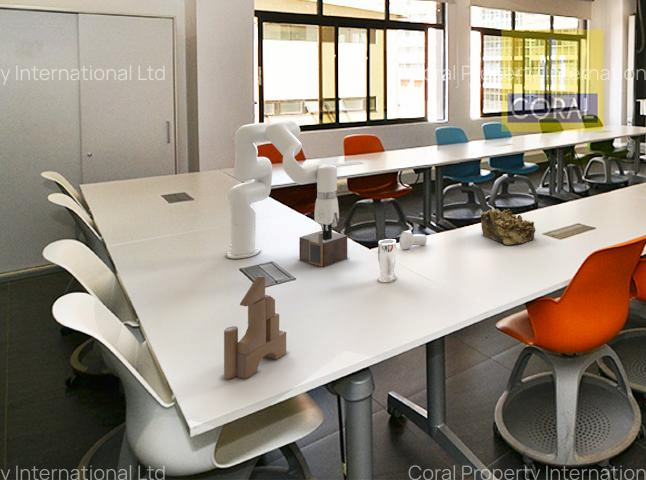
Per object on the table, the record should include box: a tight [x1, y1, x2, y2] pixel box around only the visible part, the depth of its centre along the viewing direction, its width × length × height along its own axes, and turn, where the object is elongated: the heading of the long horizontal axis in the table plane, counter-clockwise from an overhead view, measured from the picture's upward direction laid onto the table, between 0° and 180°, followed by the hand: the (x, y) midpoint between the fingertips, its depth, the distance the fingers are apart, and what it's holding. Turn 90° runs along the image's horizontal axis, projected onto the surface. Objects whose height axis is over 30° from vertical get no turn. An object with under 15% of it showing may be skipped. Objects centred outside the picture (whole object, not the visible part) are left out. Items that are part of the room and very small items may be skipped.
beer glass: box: [377, 238, 397, 283], centre depth 209 cm, size 7×7×15 cm
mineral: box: [480, 208, 536, 246], centre depth 264 cm, size 27×25×15 cm
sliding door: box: [308, 233, 323, 267], centre depth 223 cm, size 1×8×14 cm, turn 60°
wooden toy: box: [223, 275, 287, 380], centre depth 148 cm, size 16×7×25 cm, turn 162°
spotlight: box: [399, 230, 428, 250], centre depth 247 cm, size 8×11×8 cm
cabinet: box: [298, 229, 348, 268], centre depth 231 cm, size 12×16×10 cm
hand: (327, 239), depth 219 cm, fingers closed
